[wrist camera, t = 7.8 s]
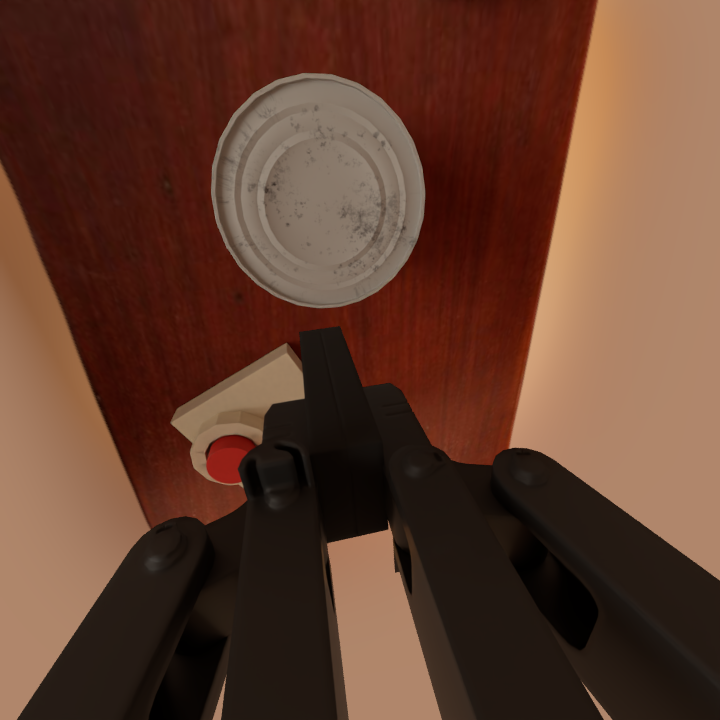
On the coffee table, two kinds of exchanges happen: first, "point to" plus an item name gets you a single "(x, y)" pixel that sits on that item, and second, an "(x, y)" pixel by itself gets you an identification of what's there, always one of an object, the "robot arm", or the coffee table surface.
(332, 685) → the robot arm
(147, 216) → the coffee table surface
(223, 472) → the lamp button
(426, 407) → the coffee table surface
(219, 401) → the beige button base
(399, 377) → the coffee table surface
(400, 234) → the unlabeled tin can
